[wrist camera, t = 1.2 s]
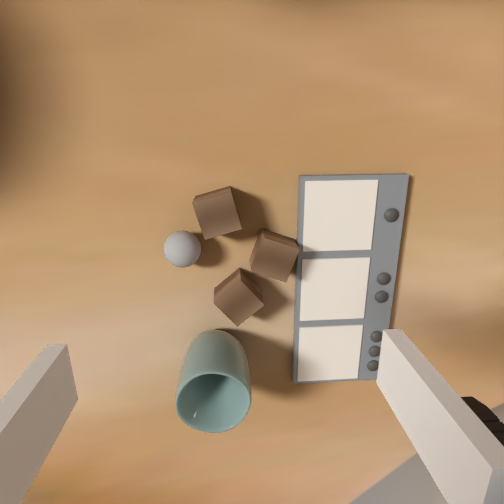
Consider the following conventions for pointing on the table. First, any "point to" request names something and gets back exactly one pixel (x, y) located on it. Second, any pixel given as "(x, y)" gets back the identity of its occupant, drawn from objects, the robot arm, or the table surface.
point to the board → (345, 273)
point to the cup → (214, 383)
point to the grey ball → (182, 249)
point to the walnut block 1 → (217, 212)
